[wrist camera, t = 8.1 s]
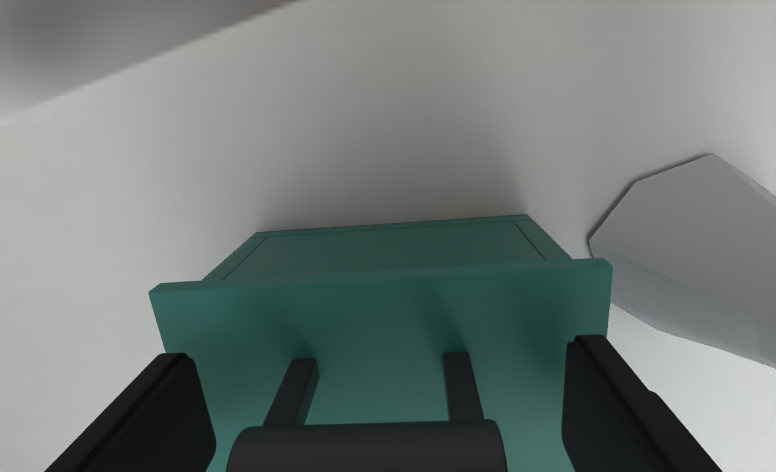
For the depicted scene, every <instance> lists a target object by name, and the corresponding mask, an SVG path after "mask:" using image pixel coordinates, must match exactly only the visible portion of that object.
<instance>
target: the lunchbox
mask: <svg viewBox="0 0 776 472" xmlns="http://www.w3.org/2000/svg"><path fill="white" fill-rule="evenodd" d="M571 259H572V258H571V257H570V256H569V255H568V254H567V253H566V252H565V251H564V250H563V249H562V248H561V247H560V246H559V245H558V244H557V243H556V242H555V241H554V240H553V239H552V238H551V237H550V236H549V235H548V234H547V233H546V232H545V231H544V230H543V229H542V228H541V227H540V226H539V225H538V224H537V223H536V222H535V221H533V220H532V219H531V218H530V217H529V216H528V215H514V216H499V217H484V218H469V219H454V220H438V221H423V222H408V223H393V224H378V225H363V226H347V227H332V228H317V229H302V230H287V231H272V232H256V233H255V234H254V235H252V236H251V237H250V239H248V240H247V241H246V242H245V243H243V244H242V245H241V246H240V247H239V248H238V249H237V250H235V251H234V252H233V253H232V254H231V255H230V256H229V257H227V258H226V259H225V260H224V261H223V262H222V263H221V264H219V265H218V266H217V267H216V268H215V269H214V270H213V271H211V272H210V273H209V274H208V275H207V276H206V277H205V278H203V279H202V280H201V281H206V280H224V279H241V278H259V277H276V276H293V275H311V274H328V273H345V272H363V271H380V270H397V269H415V268H432V267H449V266H467V265H484V264H501V263H519V262H536V261H553V260H571Z"/></svg>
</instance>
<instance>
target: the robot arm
mask: <svg viewBox="0 0 776 472" xmlns="http://www.w3.org/2000/svg"><path fill="white" fill-rule="evenodd" d="M561 435H562V441H563V445H564V448H565V450H566V452H567V455H568V457H569V459H570V461H571V464H572V466H573V468H574V470H575V472H722V471H721V469H720V468H719V467H718V466H717V465H716V463H715V462H714V461H713V460H712V459H711V457H710V456H709V455H708V454H707V453H706V451H705V450H704V449H703V448H702V447H701V445H700V444H699V443H698V442H697V441H696V439H695V438H694V437H693V436H692V435H691V433H690V432H689V431H688V430H687V429H686V428H685V426H684V425H683V424H682V423H681V422H680V420H679V419H678V418H677V417H676V416H675V414H674V413H673V412H672V411H671V410H670V408H669V407H668V406H667V405H666V404H665V402H664V401H663V400H662V399H661V398H660V397H659V396H658V395H657V394H656V393H654V392H652V391H649V390H648V389H647V388H646V386H645V385H644V384H643V383H642V381H641V380H640V379H639V378H638V377H637V375H636V374H635V373H634V372H633V370H632V369H631V368H630V367H629V366H628V364H627V363H626V362H625V361H624V359H623V358H622V357H621V356H620V355H619V353H618V352H617V351H616V350H615V348H614V347H613V346H612V345H611V343H610V342H609V341H608V340H607V339H606V337H605V336H604V335H602V334H591V335H577V336H575V338H574V342H568V343H567V348H566V363H565V378H564V394H563V410H562V425H561ZM216 446H217V442H216V437H215V433H214V430H213V426H212V422H211V419H210V415H209V411H208V408H207V404H206V401H205V397H204V393H203V390H202V386H201V382H200V379H199V375H198V371H197V368H196V364H195V362H194V360H193V359H192V358H189V357H188V355H187V354H186V353H183V352H181V353H162V354H159V355H158V356H157V357H156V358H155V359H154V360H153V361H152V362H151V363H150V364H149V365H148V366H147V367H146V368H145V369H144V370H143V371H142V372H141V373H140V374H139V375H138V376H137V377H136V378H135V379H134V380H133V381H132V382H131V383H130V384H129V385H128V386H127V387H126V388H125V390H124V391H123V392H122V393H121V394H120V395H119V396H118V397H117V398H116V399H115V400H114V401H113V402H112V403H111V404H110V405H109V406H108V407H107V408H106V409H105V410H104V411H103V412H102V413H101V414H100V415H99V416H98V417H97V418H96V419H95V420H94V421H93V422H92V423H91V424H90V425H89V426H88V427H87V428H86V429H85V430H84V432H83V433H82V434H81V435H80V436H79V437H78V438H77V439H76V440H75V441H74V442H73V443H72V444H71V445H70V446H69V447H68V448H67V449H66V450H65V451H64V452H63V453H62V454H61V455H60V456H59V457H58V458H57V459H56V460H55V461H54V462H53V463H52V464H51V465H50V466H49V467H48V468H47V469H46V470H45V471H44V472H206V470H207V468H208V466H209V464H210V463H211V461H212V459H213V457H214V455H215V452H216Z"/></svg>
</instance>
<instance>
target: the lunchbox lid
mask: <svg viewBox="0 0 776 472" xmlns="http://www.w3.org/2000/svg"><path fill="white" fill-rule="evenodd" d="M612 276H613V266H612V265H611V264H610V263H609V262H608V261H606V260H605V259H604V258H588V259H571V260H553V261H536V262H519V263H501V264H484V265H467V266H449V267H432V268H415V269H397V270H380V271H363V272H345V273H328V274H311V275H293V276H276V277H259V278H241V279H224V280H206V281H189V282H172V283H160V284H159V285H157V286H156V287H155V288H153V289H152V290H151V291H149V297H150V301H151V304H152V307H153V311H154V314H155V318H156V321H157V324H158V328H159V331H160V335H161V338H162V341H163V345H164V348H165V351H166V353H181V352H183V353H186V354H187V355H188V357H189V358H192V359H193V360H194V362H195V364H196V368H197V371H198V375H199V379H200V382H201V386H202V390H203V393H204V397H205V401H206V404H207V408H208V411H209V415H210V419H211V422H212V426H213V430H214V433H215V437H216V442H217V446H216V452H215V455H214V457H213V459H212V461H211V463H210V464H209V466H208V468H207V470H206V472H575V470H574V468H573V466H572V464H571V461H570V459H569V457H568V455H567V452H566V450H565V448H564V445H563V441H562V435H561V425H562V410H563V394H564V378H565V363H566V348H567V343H568V342H574V338H575V336H577V335H591V334H602V335H604V336H605V337H606V338H607V327H608V317H609V307H610V296H611V286H612Z"/></svg>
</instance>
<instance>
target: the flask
mask: <svg viewBox="0 0 776 472" xmlns="http://www.w3.org/2000/svg"><path fill="white" fill-rule="evenodd" d="M589 245H590V248H591V252H592V255H593V258H604V259H605V260H606V261H608V262H609V263H610V264H611V265H612V266H613V276H612V286H611V296H610V302H611V303H613V304H615V305H616V306H618V307H620V308H622V309H623V310H625V311H627V312H628V313H630V314H632V315H633V316H635V317H637V318H638V319H640V320H642V321H643V322H645V323H647V324H649V325H650V326H652V327H654V328H655V329H657V330H660V331H663V332H666V333H669V334H671V335H675V336H678V337H681V338H685V339H688V340H691V341H695V342H698V343H701V344H705V345H708V346H711V347H715V348H718V349H721V350H724V351H727V352H730V353H733V354H736V355H739V356H741V357H744V358H747V359H750V360H753V361H756V362H759V363H762V364H765V365H767V366H770V367H773V368H776V196H775V195H773V194H772V193H771V192H770V191H768V190H767V189H765V188H764V187H762V186H761V185H759V184H758V183H756V182H755V181H753V180H752V179H750V178H749V177H747V176H746V175H744V174H743V173H741V172H740V171H739V170H737V169H736V168H734V167H733V166H731V165H730V164H728V163H727V162H725V161H724V160H722V159H721V158H719V157H718V156H716V155H715V154H710V155H707V156H704V157H702V158H699V159H696V160H694V161H691V162H688V163H685V164H683V165H680V166H677V167H674V168H672V169H669V170H666V171H664V172H661V173H658V174H655V175H653V176H650V177H647V178H645V179H642V180H639V181H636V182H635V183H634V185H633V186H632V187H631V188H630V190H629V191H628V192H627V193H626V195H625V196H624V197H623V198H622V200H621V201H620V202H619V203H618V205H617V206H616V207H615V208H614V210H613V211H612V212H611V213H610V214H609V216H608V217H607V218H606V219H605V221H604V222H603V223H602V224H601V226H600V227H599V228H598V229H597V231H596V232H595V233H594V234H593V236H592V237H591V238H590V239H589Z"/></svg>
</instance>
